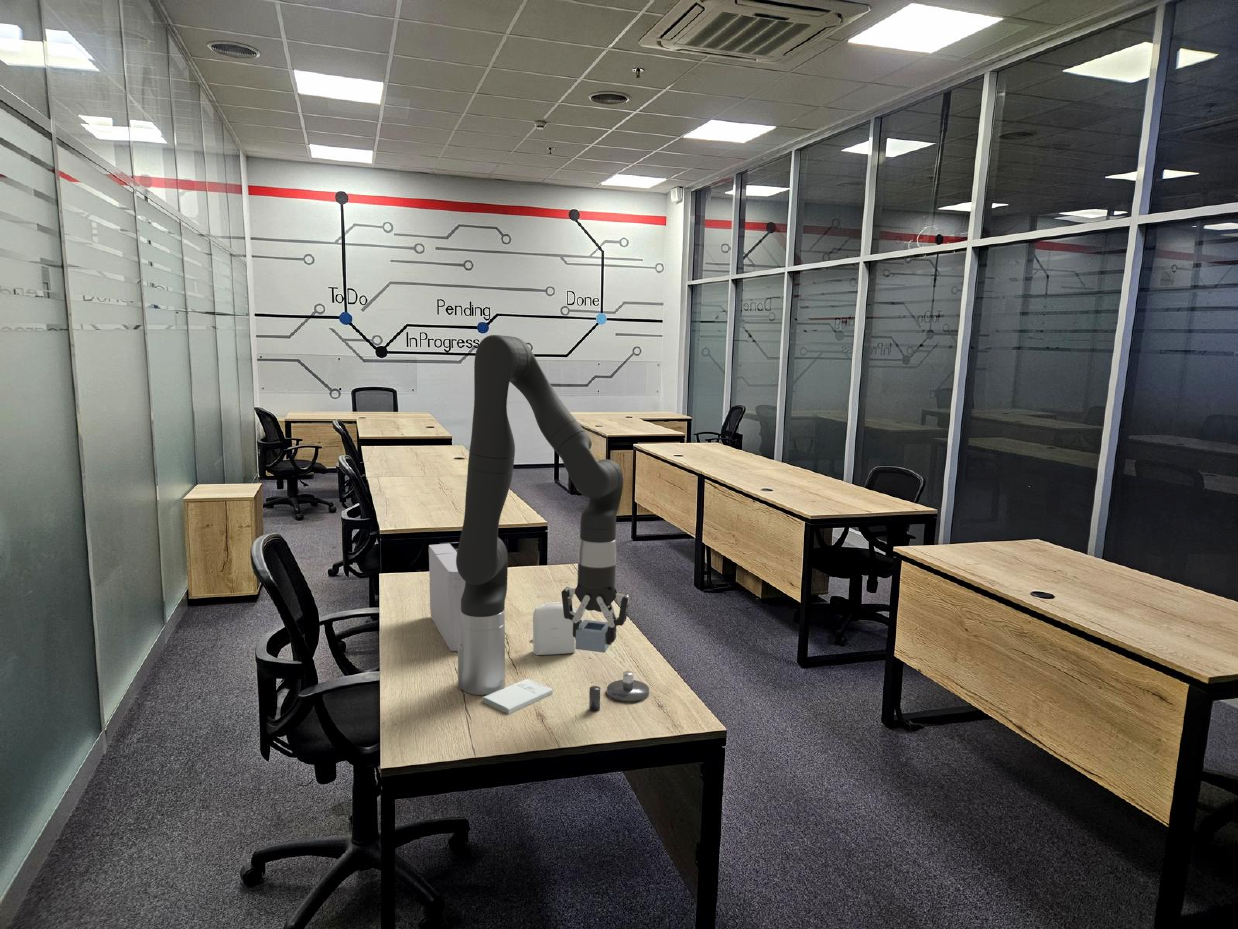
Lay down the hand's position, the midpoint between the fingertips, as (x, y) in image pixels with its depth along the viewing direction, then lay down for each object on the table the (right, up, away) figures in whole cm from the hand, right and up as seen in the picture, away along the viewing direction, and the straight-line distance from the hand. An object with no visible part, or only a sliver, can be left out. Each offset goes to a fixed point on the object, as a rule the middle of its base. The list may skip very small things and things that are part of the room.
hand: (594, 641), depth 153 cm
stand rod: (0, -14, +2) cm, 15 cm away
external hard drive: (-16, -14, +7) cm, 23 cm away
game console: (-39, -8, +43) cm, 58 cm away
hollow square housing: (0, -1, 0) cm, 1 cm away
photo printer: (-11, -10, +31) cm, 34 cm away
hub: (+7, -13, +10) cm, 18 cm away
